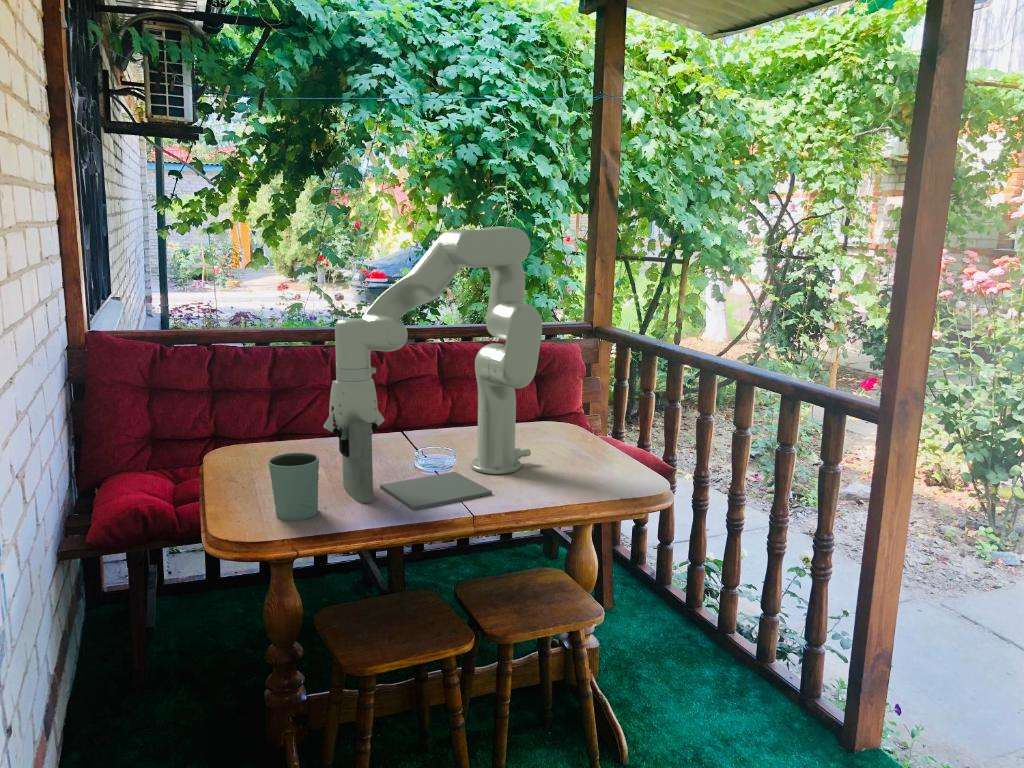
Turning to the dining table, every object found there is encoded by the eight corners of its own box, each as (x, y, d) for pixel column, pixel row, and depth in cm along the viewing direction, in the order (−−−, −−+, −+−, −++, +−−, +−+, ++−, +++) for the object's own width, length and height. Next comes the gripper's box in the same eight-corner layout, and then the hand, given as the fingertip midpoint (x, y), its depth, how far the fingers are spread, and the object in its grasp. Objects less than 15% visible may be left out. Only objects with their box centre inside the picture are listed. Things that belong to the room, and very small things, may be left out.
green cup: (328, 516, 165) (326, 461, 163) (280, 525, 159) (278, 469, 157) (309, 502, 173) (308, 449, 171) (264, 511, 167) (261, 456, 165)
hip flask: (375, 502, 174) (373, 413, 170) (357, 504, 172) (354, 415, 168) (354, 481, 188) (352, 399, 184) (337, 483, 186) (335, 400, 182)
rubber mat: (455, 474, 194) (455, 471, 194) (491, 494, 180) (491, 491, 180) (380, 488, 183) (380, 484, 183) (413, 510, 169) (413, 506, 169)
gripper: (381, 368, 182) (382, 445, 186) (310, 375, 173) (313, 455, 176) (395, 374, 176) (396, 452, 179) (323, 380, 167) (325, 463, 170)
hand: (355, 453), depth 178 cm, fingers closed on hip flask, 4 cm apart
